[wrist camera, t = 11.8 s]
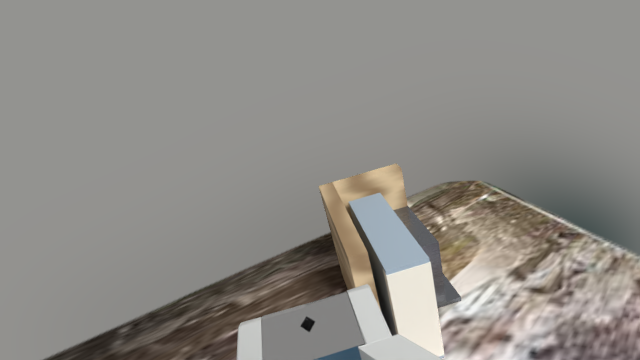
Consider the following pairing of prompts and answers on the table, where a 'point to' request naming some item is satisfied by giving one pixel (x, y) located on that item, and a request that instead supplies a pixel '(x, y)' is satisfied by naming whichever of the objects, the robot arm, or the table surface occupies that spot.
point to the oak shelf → (341, 221)
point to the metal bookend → (431, 248)
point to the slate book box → (399, 273)
